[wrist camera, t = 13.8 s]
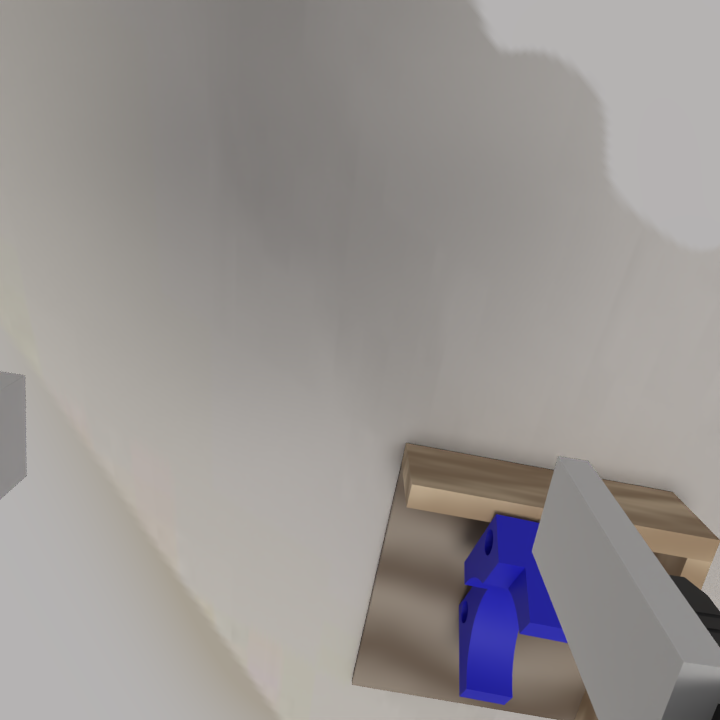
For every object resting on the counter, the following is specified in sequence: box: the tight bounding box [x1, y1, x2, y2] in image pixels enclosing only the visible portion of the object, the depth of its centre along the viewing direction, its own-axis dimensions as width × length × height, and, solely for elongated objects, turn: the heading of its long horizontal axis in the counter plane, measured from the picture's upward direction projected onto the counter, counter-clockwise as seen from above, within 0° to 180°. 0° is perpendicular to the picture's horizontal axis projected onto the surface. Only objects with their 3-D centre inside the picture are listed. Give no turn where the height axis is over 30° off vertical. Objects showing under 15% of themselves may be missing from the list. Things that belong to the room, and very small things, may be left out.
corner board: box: [352, 443, 720, 720], centre depth 42 cm, size 20×18×6 cm
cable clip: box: [459, 514, 568, 705], centre depth 38 cm, size 12×4×6 cm, turn 167°
